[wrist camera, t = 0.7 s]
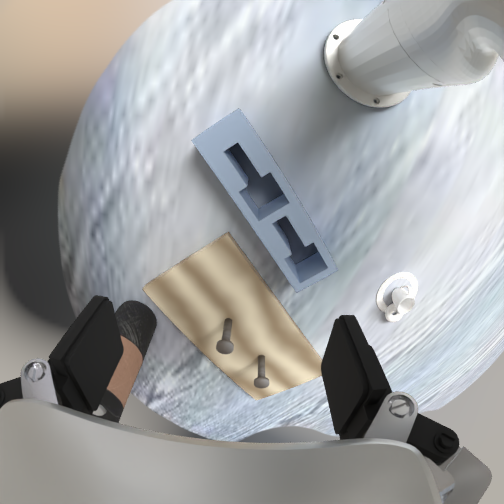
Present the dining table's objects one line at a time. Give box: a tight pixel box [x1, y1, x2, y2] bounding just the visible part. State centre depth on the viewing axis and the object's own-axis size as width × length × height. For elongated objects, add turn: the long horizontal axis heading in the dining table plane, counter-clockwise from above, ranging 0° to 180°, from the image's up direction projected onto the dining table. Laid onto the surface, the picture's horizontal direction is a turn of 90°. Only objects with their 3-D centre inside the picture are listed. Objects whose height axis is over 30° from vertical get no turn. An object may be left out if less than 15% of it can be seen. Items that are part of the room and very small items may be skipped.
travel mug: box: [92, 301, 157, 423], centre depth 34 cm, size 8×8×20 cm
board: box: [143, 232, 322, 400], centre depth 41 cm, size 16×32×7 cm, turn 33°
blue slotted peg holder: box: [191, 109, 338, 293], centre depth 32 cm, size 6×22×5 cm, turn 33°
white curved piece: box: [376, 272, 418, 322], centre depth 39 cm, size 9×8×4 cm
